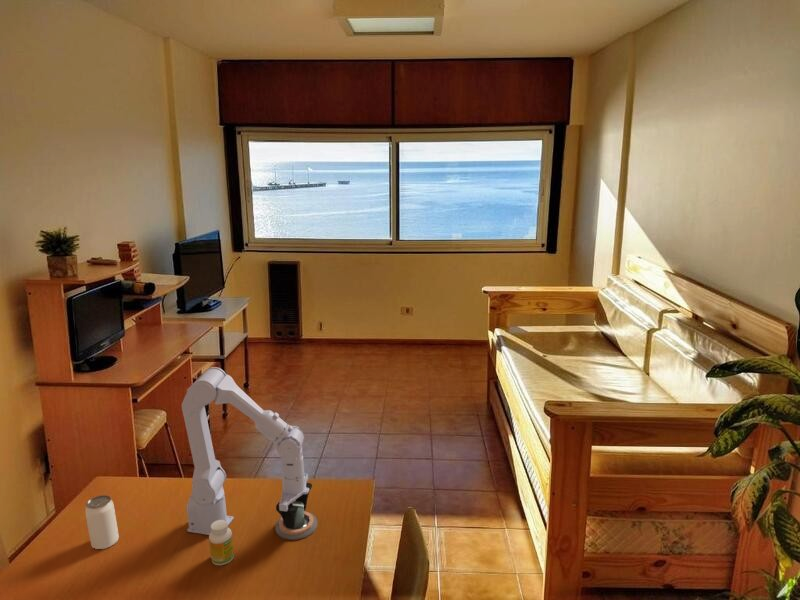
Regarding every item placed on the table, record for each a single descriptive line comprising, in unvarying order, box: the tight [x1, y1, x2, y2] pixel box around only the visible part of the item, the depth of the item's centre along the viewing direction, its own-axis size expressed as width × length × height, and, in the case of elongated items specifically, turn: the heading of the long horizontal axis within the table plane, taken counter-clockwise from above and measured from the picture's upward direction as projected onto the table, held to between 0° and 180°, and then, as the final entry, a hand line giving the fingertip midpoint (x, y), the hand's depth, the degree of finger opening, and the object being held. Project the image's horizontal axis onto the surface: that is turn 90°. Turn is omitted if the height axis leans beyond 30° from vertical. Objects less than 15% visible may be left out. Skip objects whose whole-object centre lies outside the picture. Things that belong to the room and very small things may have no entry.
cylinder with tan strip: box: [292, 500, 305, 529], centre depth 154 cm, size 5×4×6 cm
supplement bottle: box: [208, 520, 235, 566], centre depth 142 cm, size 5×5×10 cm
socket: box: [274, 510, 318, 541], centre depth 154 cm, size 11×11×2 cm
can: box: [84, 494, 120, 550], centre depth 148 cm, size 6×6×12 cm
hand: (296, 518), depth 154 cm, fingers open, 7 cm apart
